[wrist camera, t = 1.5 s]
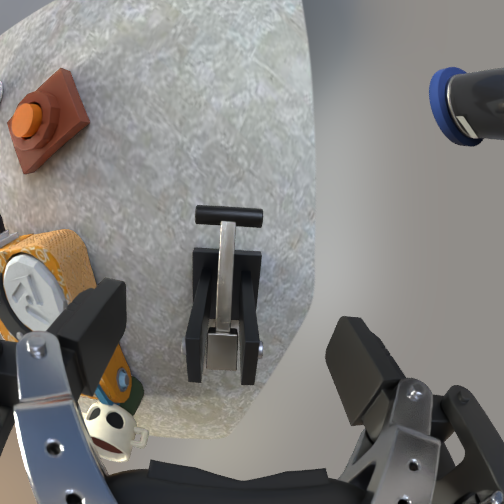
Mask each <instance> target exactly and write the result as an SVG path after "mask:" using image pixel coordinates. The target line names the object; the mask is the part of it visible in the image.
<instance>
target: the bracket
mask: <svg viewBox="0 0 504 504" xmlns="http://www.w3.org/2000/svg"><path fill="white" fill-rule="evenodd" d="M261 259H262V255H261V252H260V251H243V250H234V267H233V286H232V306H231V320H239V342H240V370H241V385H254V383H255V376H256V369H257V361H258V359H261V358H262V356H263V342H262V341H260V339H259V331H258V324H257V316H256V307H257V297H258V288H259V278H260V269H261ZM218 263H219V249H209V248H194V250H193V306H192V310H191V314H190V318H189V322H188V327H187V331H186V335H185V337H183V339H182V354H183V355H186V362H187V373H188V382H196V383H201V381H202V372H203V363H204V355H205V347H206V339H207V331H208V324H209V319H216V302H217V281H218Z"/></svg>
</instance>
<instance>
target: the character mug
mask: <svg viewBox="0 0 504 504" xmlns="http://www.w3.org/2000/svg"><path fill="white" fill-rule="evenodd" d="M131 379H132V386H131V391H130V395H129V398H128V399H127V400H126V401H125V402H124V403H120V405H119V406H118V405H116V404H113V406H111V405H105V404H102V403H101V402H100V401H99V402H96V403H94V404H92V406H91V407H90V408H89V410H88V412H87V414H86V413H82V415H83V418H84V421H85V423H86V426H87V428H88V431H89V433H90V436H91V438H92V441H93V443H94V445H95V448H96V450H97V452H98V454H99V456H100V457H102V458H105V459H108V460H111V461H115V462H126V461H128V460H129V458H130V455H131V451H132V447H137V448H145V447H146V445H147V440H148V436H149V430H147V429H145V428H140V427H137V424H136V420H135V419H134V417H133V416H134V414H135V412H136V410H137V408H138V406H139V405H140V402H141V400H142V398H143V395H144V389H143V387H142V384H141V383H140V382H139V381H138V380H137V379H136V378H135V377H133V376H131ZM136 433H138V434H141V438H140V441H134V439H135V435H136Z"/></svg>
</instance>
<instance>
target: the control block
mask: <svg viewBox="0 0 504 504" xmlns="http://www.w3.org/2000/svg"><path fill="white" fill-rule="evenodd" d="M25 103H28V104H36V105H38V106H40V108H41V110H42V122H41V125H40V127H39V129H38V131H37V132H36V133H35V134H34V135H33V136H31V137H16V136H15V135H14V134H13V131H12V119H13V116H14V115H13V116H12V117H11V119H10V120H9V121H8V122H7V124H8V128H9V131H10V135H11V138H12V141H13V144H14V148H15V151H16V154H17V157H18V159H19V162H20V165H21V168H22V170H23V173H24V174H29V173H34V172H35V171H36V170H37V169H38V168H39V167H40V166H41V165H42V164H43V163H44V162H45V161H47V160H48V159H49V158H50V157H51V156H52V155H53V154H54V153H55V152H56V151H57V150H58V149H59V148H61V147H62V146H63V145H64V144H65V143H66V142H67V141H68V140H70V139H71V138H72V137H73V136H74V135H76V134H77V133H78V132H79V131H80V130H82V129H83V128H84V127H85V126H87V125H88V124H89V123H90V121H89V118H88V116H87V113H86V111H85V109H84V106H83V104H82V101H81V99H80V96H79V93H78V91H77V88H76V86H75V83H74V80H73V77H72V75H71V72H70V71H68V70H65V69H63V68H60V69H59V70H58V71H56V72H55V73H54V74H53V75H52V76H51V77H50V78H49V79H48V80H47V81H46V82H45V83H43V84H42V85H41V86H40V87H39V88H38V89H37V90H36V91H35V92H32V93H29V94H27V95H26V96H25V97H24V99H23V100H22V101H21V102H20V103H19V104H18V106H17V109H18V107H19V106H21V105H22V104H25ZM17 109H16V110H17ZM15 112H16V111H15Z"/></svg>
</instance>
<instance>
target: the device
mask: <svg viewBox="0 0 504 504" xmlns="http://www.w3.org/2000/svg"><path fill="white" fill-rule="evenodd" d="M96 286H97V285H96V282H95V278H94V275H93V272H92V268H91V265H90V261H89V257H88V253H87V248H86V246H85V244H84V242H83V241H82V239H81V238H80V237H79V236H78V234H76V233H75V232H74V231H72V230H69V229H61V230H56V231H51V232H46V233H40V234H35V235H34V234H28V235H23V236H19V235H18V232H17V233H12V234H9V230H6V231H5V228H4V224H3V220H2V217H1V215H0V332H1V334H2V336H3V338H4V339H5V340H6V341H12V342H18V341H19V339H20V338H21V337H22V336H24V335H25V334H27V333H29V332H32V331H46V330H47V329H48V328H49V327H50V325H51V324H52V323H53V322H54V321H55V320H56V318H57V317H58V316H59V315H60V314H61V313H62V312H63V310H64V309H66V307H67V306H68V305H69V304H70V303H72V301H73V299H74V298H75V297H76V296H77V295H78V294H79V293H81V292H83V291H85V290H87V289H89V288H94V289H95V288H96ZM131 386H132V379H131V373H130V369H129V366H128V364H127V362H126V360H125V358H124V355H123V353H122V350H121V348H120V345H119V344H118V346H117V348H116V350H115V352H114V354H113V356H112V358H111V360H110V362H109V364H108V366H107V368H106V370H105V372H104V374H103V376H102V378H101V380H100V382H99V384H98V386H97V389H96V391H95V393H94V395H93V397H90V396H87V395H84V394H82V393H81V395H80V397H84V398H91V399H98V400H99V401H100V402H101V403H102V404H105V405H111V406H113V404H116V405H118V406H119V405H120V403H124V402H125V401H126V400H127V399H128V398H129V395H130V391H131Z"/></svg>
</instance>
